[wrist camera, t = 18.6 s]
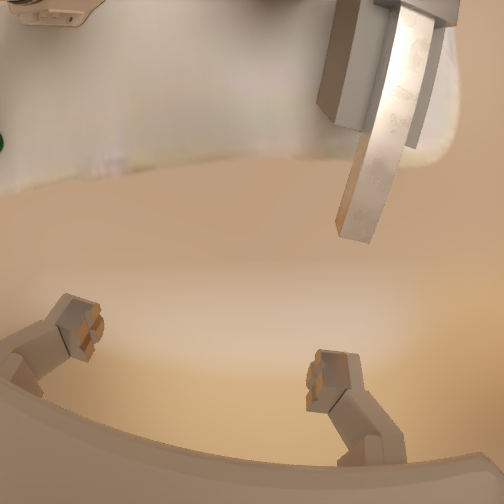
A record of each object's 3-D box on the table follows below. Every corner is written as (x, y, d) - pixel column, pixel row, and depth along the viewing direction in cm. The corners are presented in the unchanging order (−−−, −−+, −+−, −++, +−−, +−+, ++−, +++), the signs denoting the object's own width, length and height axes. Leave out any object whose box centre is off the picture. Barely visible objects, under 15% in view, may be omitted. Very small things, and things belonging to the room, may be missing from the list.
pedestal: (316, 103, 39) (334, 124, 25) (337, -1, 30) (367, -37, 16) (371, 117, 39) (415, 149, 25) (393, 16, 30) (449, -3, 16)
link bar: (320, 217, 30) (324, 239, 27) (380, -41, 15) (394, -54, 12) (376, 230, 30) (386, 252, 27) (441, -15, 15) (462, -22, 12)
